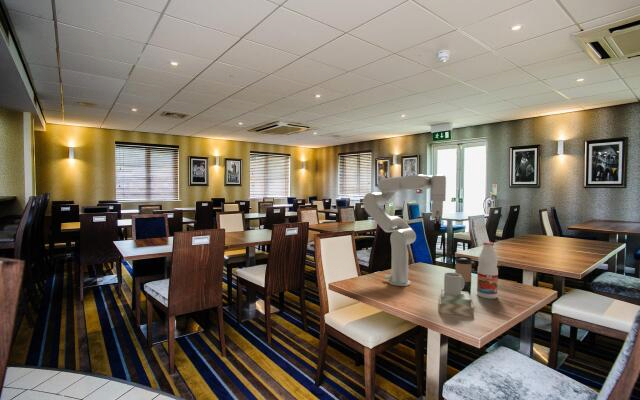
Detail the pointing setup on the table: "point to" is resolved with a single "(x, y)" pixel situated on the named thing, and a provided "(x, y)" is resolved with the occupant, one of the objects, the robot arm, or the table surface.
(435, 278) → the table surface
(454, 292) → the cup
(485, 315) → the table surface
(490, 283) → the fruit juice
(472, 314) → the camouflage patterned box
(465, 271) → the travel mug
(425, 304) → the table surface
